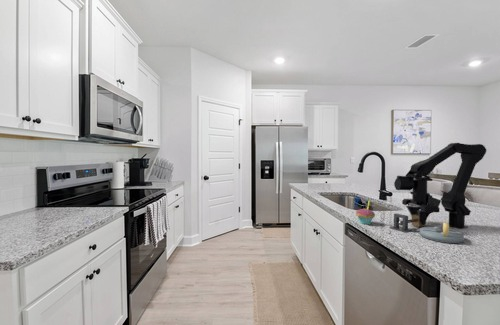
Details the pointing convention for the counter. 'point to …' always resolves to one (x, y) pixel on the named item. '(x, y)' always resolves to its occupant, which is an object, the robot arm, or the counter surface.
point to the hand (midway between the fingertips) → (419, 223)
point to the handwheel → (442, 234)
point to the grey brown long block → (414, 221)
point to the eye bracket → (404, 223)
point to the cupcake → (365, 215)
